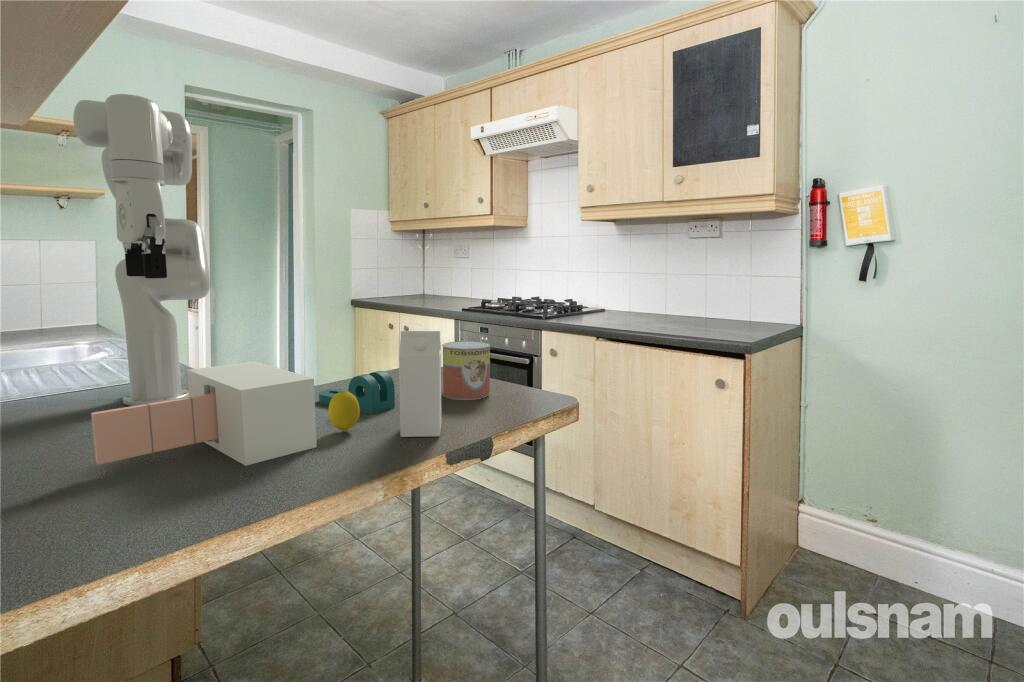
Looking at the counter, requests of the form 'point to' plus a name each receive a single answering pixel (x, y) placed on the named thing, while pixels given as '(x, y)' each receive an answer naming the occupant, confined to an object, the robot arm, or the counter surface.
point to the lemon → (344, 410)
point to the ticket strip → (153, 427)
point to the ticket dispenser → (258, 410)
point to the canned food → (466, 370)
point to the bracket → (367, 392)
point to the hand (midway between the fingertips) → (146, 277)
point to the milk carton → (420, 383)
